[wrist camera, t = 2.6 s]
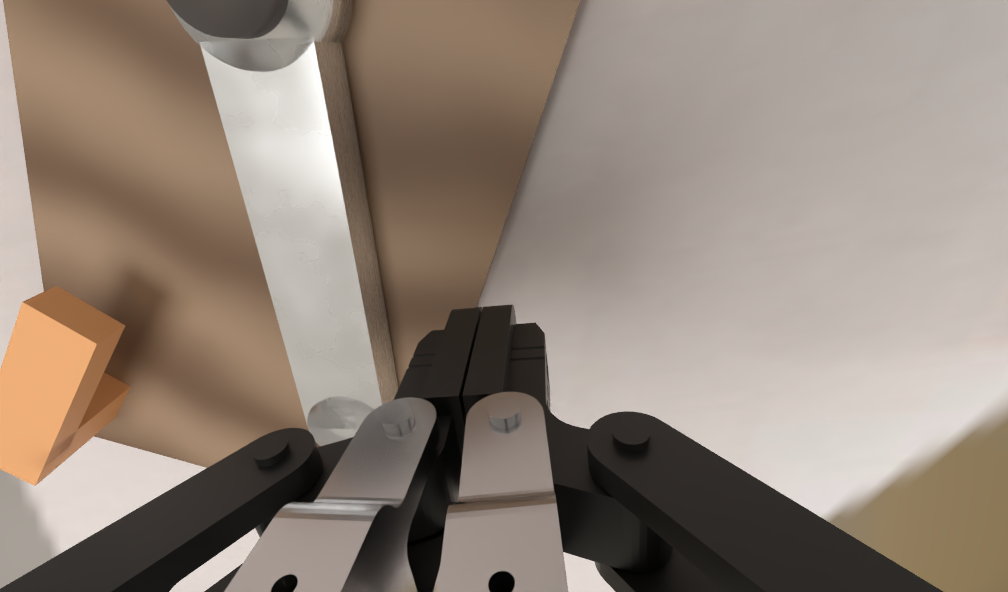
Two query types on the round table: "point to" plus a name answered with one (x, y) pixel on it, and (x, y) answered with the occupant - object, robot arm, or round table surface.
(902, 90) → the round table surface
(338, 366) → the lever
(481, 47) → the base plate
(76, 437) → the block
